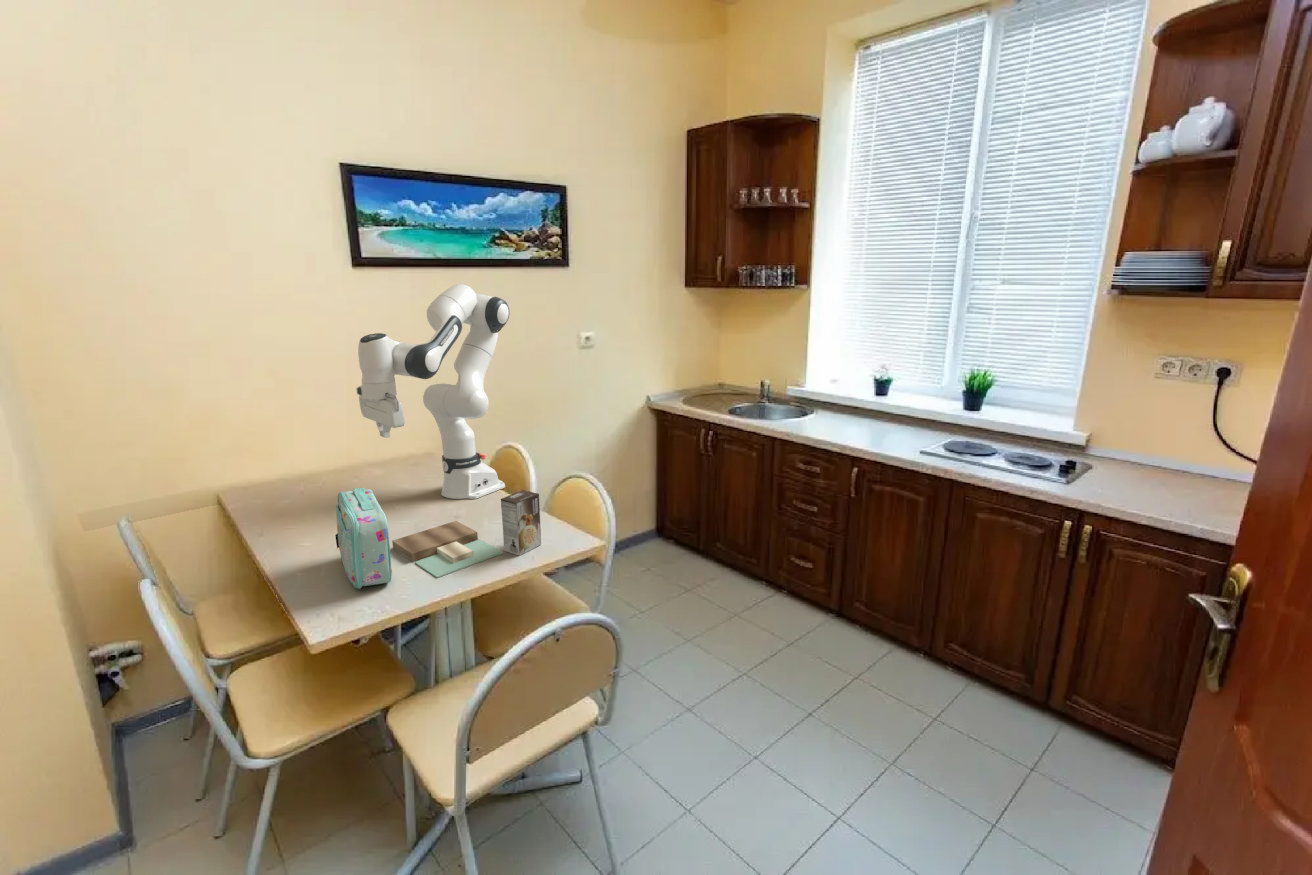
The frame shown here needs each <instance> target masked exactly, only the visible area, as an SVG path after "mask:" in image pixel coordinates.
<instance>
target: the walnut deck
mask: <svg viewBox="0 0 1312 875" xmlns="http://www.w3.org/2000/svg"><path fill="white" fill-rule="evenodd" d="M478 535H479V534H478V531H477V530H475V529H472V528H470V527H469V526H468V525H465V524H463V523H461V522H459V521H457V520H455V521H450V522H448V523H445V524H441V525H438V526H435V527H431V528H428V529H426V530H422V531H420V532H419V531H418V532H416V533H413V534H409V535H407V536H404V537H403V536H402V537H400V538H397V539H396V538H395V539H393V540H391V542H392V548H393V550H394V551H396V552H397V553H399V554H400V555H401V556H403V557H405V558H407V559H408V560H409V561H411V562H412V563H415V562H416V561H419V560H422V559H425V558H428V557H431V556H434V555H437V554H438V553H437V548H438V547H441V546H444V545H447V544H450V543H453V542H458V543H460V544H462V545H465V544H468V543H471V542H474V541H477V540H479V538H478V537H479V536H478Z"/></svg>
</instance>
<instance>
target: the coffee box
mask: <svg viewBox="0 0 1312 875" xmlns="http://www.w3.org/2000/svg"><path fill="white" fill-rule="evenodd" d="M500 505H501V519H502V520H501V521H502V522H501V523H502V535H503V536H502V537H503V539H502V540H503V551H504V552H507V553H509V554H510V553H511V554H512V555H516V556H519V557H520V556H522V555H524V554H526V553H528V552H530V551H532V550H533V549H535V548H537V547H539V546H541V545H542V536H541V535H542V532H541V531H542V530H541V529H542V528H541V513H540V511H541V510H540V509H541V508H540V494H539V493H538V492H534V491H529V490H525V489H521V490H520V491H517V492H515V493H513V494H510V495H508V496H504V497H502V498H500Z"/></svg>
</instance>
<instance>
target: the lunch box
mask: <svg viewBox="0 0 1312 875" xmlns="http://www.w3.org/2000/svg"><path fill="white" fill-rule="evenodd" d="M335 513H336V528H337V529H336V532H337V533H335V535H334V536H335V543H336V549H339V554H340V558H341V562H342V564H343V566H344V567H343V568H344V572H345V574H346V576H347V579H348V580H349V582H350V583H351V585H352V586H353V588H354V589H362V587H368V586H374V585H380V584H386V583H391V581H392V576H393V570H392V556H391V546H390V534H389V525H388V519H387V515H386V514H385V512H384V510H383V509H382V507H381V505H380V503H379V502H378V500H377V498H376V496H375V494H374V491H373V490H371V489H370V488H369V489H365V487H359V488H357V487H356V488H353V489H352V490H348V491H339V493H338V495H337V502H336V505H335Z"/></svg>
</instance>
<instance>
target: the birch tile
mask: <svg viewBox="0 0 1312 875" xmlns="http://www.w3.org/2000/svg"><path fill="white" fill-rule="evenodd" d="M437 553H438V554H440V555H441V556H443V557H445V558H446V559H448V560H450V561H451V562H453V563H456V562H458V561H461V560H464V559H467V558H469V557H472V556H473V551H472V550H470V549H469V548H467V547H465V546H463V545H462V544H460V543H458V542H453V543H450V544H447V545H444V546H441V547H438V548H437Z"/></svg>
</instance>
